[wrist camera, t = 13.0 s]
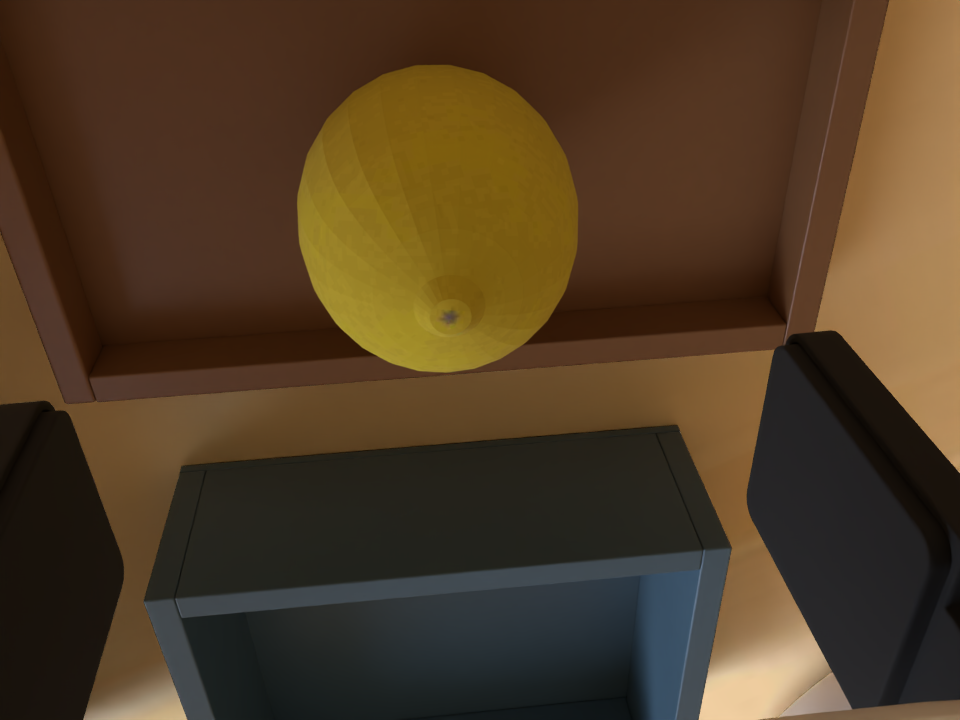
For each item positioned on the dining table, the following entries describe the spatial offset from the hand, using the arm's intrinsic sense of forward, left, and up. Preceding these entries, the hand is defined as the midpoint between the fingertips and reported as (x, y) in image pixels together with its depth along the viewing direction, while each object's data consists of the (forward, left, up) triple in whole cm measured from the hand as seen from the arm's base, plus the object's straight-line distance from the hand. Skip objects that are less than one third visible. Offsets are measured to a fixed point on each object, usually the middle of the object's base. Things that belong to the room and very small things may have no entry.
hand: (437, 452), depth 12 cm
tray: (0, 0, -12) cm, 12 cm away
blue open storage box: (0, -17, -12) cm, 21 cm away
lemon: (0, 0, -11) cm, 11 cm away
